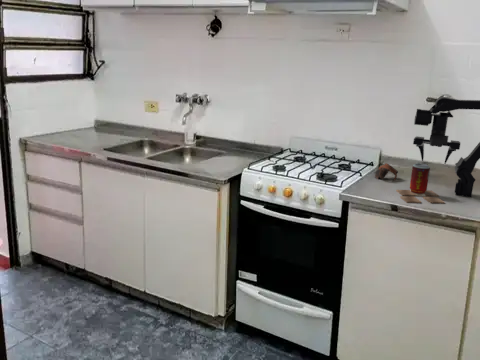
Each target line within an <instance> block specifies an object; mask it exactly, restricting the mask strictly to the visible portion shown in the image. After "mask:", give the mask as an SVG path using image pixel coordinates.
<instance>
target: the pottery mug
mask: <svg viewBox="0 0 480 360" xmlns="http://www.w3.org/2000/svg"><path fill="white" fill-rule="evenodd" d="M389 172H390V173H391V174H393V175H394V178H393V180H394V181H396V179H397V177H398V173H399V171H398V170H397V169H396V168H395V167H393V166H392V165H390V164H388V163H387V162H385V164H383V165H380V166H379V167H378V169H377V170H376V172H375V174H374V178H376V179H377V180H378V179H379V178H380V179H382V180H384V179H385V177H386V176H387V175H388V173H389Z"/></svg>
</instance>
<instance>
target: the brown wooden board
mask: <svg viewBox="0 0 480 360" xmlns="http://www.w3.org/2000/svg"><path fill="white" fill-rule="evenodd" d="M395 192H397V193H398V194H399V195H401V196H414V197H438V198H439V197H440V195H439V194H438V193H436V192H434V191H433V190H431V189H427V190H426V191H425V193H424V194H415V193H412V192H411V190H410V189H396V191H395Z"/></svg>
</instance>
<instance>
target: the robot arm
mask: <svg viewBox="0 0 480 360" xmlns="http://www.w3.org/2000/svg"><path fill="white" fill-rule="evenodd" d="M455 110H457V111H458V110H480V99H456V98H453V97H448V96H447V97H446V96H439V97H438V98H437V99H436V100H435V102H434V104H433V106H432V107H430V109H421V108H417V109H416V112H415V116H414V123H413V124H414V125H416V126H424V127H425V126H426V127H428V126H429V125H430V124H431V132H430V137H429V139H427V138H426V139H425V137H424V136H419V135H418V136H417V135H416V136H415V137H414V138H413V143H412V144H413V145H415V147H418V149H419V151H420V157H421V161H422V162H424V157H425V145H429V146H430V147H438V148H441V147H442V146H443V147H448V148H447V152H446V156H445V159H444V160H445V161H444V164H445V165H446V163H447V162H448V160H449V157H450V156H451V154H452V153H453V152H457V151H459V150H460V148H461V141H460V140H450V141H449V135H446V133H447V127H448V120H449V118H454V115H453V114H452V113H451V111H455ZM479 160H480V141H479V142H478V144H477V145H476V146H475V147H474V148H473V149H472V150H471V152H470V153H469V154H468V156H465V158H463V156H461V157H460V158H459V160H458V161H457V162H456V163H455V166H454V172H455V174H456V176H457V178H458V179H457V182H455V186H454V193H455V196H459V197H466V198H472V197H473V189H474V184H475V181H476V179H475V176H474V175H473V174H472V173H473V171H474V169H475V167H476V165H477V162H479Z"/></svg>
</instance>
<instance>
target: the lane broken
mask: <svg viewBox="0 0 480 360" xmlns="http://www.w3.org/2000/svg"><path fill="white" fill-rule="evenodd" d="M399 197H400V199H401V200H402V201H404V202H405V203H406V204H421V203H422V201H421V200H420V199H418V198H417V196H402V195H401V196H399ZM422 198H423V199H424V200H425V201H427V202H428V203H429V204H440V203H441V204H446V202H445V201H444V200H442V199H441V198H439V197H434V196H422ZM441 204H440V205H441Z"/></svg>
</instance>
